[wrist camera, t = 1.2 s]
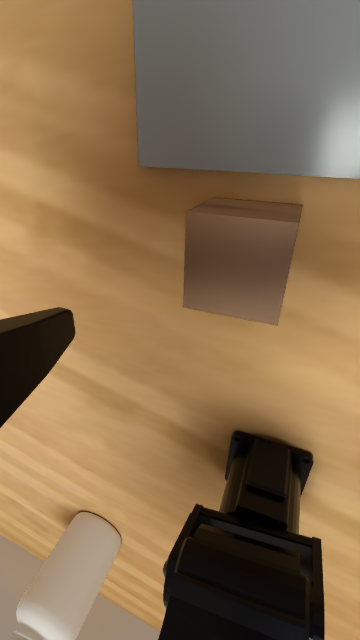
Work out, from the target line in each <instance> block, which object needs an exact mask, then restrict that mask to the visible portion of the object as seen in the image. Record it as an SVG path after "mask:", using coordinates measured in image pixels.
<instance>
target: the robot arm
mask: <svg viewBox="0 0 360 640" xmlns="http://www.w3.org/2000/svg"><path fill="white" fill-rule="evenodd" d="M74 336H75V326H74V319H73V313H72V311H71V310H69V309H65V308H61V307H57V308H53V309H48V310H43V311H39V312H34V313H29V314H25V315H20V316H15V317H11V318H6V319H1V320H0V428H1V427H2V426H3V424H4V423H5V422H6V421H7V420H8V419H9V418H10V416H11V415H12V414H13V413H14V412H15V411H16V410H17V409H18V407H19V406H20V405H21V404H22V403H23V402H24V401H25V400H26V398H27V397H28V396H29V395H30V394H31V393H32V392H33V391H34V389H35V388H36V387H37V386H38V385H39V384H40V383H41V381H42V380H43V379H44V378H45V377H46V376H47V374H48V373H49V372H50V371H51V369H52V368H53V367H54V365H55V364H56V362H57V361H58V360H59V358H60V357H61V355H62V354H63V353H64V351H65V350H66V349H67V347H68V346H69V344H70V343H71V342H72V340H73V339H74ZM237 437H238V438H237ZM312 465H313V456H312V455H311V454H310V453H307V452H304V451H301V450H297V449H294V448H291V447H288V446H284V445H281V444H278V443H274V442H271V441H268V440H265V439H261V438H258V437H255V436H252V435H248V434H245V433H242V432H238V431H235V432H233V434H232V438H231V444H230V450H229V456H228V463H227V469H226V475H225V479H226V481H227V483H226V487H225V491H224V495H223V499H222V503H221V506H220V510H219V512H218V511H215V510H211V509H208V508H204V507H203V506H202V505H199V504H196V505H195V507H194V509H193V511H192V513H190V515H189V517H188V519H187V521H186V523H185V525H184V527H183V529H182V531H181V533H180V535H179V537H178V539H177V541H176V543H175V545H174V547H173V549H172V551H171V553H170V555H169V558H168V559H167V561H166V562H165V564H164V568H163V573H164V576H165V583H164V593H163V601H164V606H165V607H166V613H165V617H164V621H163V625H162V629H161V632H160V635H159V639H158V640H324V590H323V570H322V550H321V539H319V538H315V537H312V538H310V537H306V536H303V535H299V513H300V497H301V494H302V492H303V489H304V486H305V484H306V481H307V478H308V476H309V473H310V470H311V467H312Z"/></svg>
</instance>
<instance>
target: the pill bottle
mask: <svg viewBox="0 0 360 640" xmlns="http://www.w3.org/2000/svg"><path fill="white" fill-rule="evenodd" d="M120 546H121V538H120V535H119V534H118V532H117V531H116V530H115V528H114V527H113V526H112V525H111V524H109V523H108V522H107V521H105V520H104V519H102V518H101V517H99V516H97V515H95V514H92V513H88V512H80V513H78V514H77V515H76V516H75V517H74V519H73V520H72V521H71V523H70V524H69V526H68V527H67V529H66V530H65V532H64V533H63V535H62V536H61V538H60V540H59V541H58V543H57V544H56V546H55V547H54V549H53V550H52V552H51V553H50V555H49V556H48V558H47V560H46V561H45V563H44V564H43V566H42V567H41V569H40V570H39V572H38V574H37V575H36V577H35V578H34V579H33V581H32V583H31V584H30V586H29V587H28V589H27V590H26V592H25V593H24V595H23V597H22V598H21V600H20V602H19V604H18V607H17V611H16V617H17V621H18V623H19V625H20V627H19V629H18V630H14V632H13V635H14V636H13V637H11V638H10V640H75V639H76V638H77V636H78V634H79V631H80V629H81V627H82V625H83V623H84V621H85V619H86V617H87V615H88V613H89V611H90V609H91V606H92V605H93V602H94V601H95V598H96V596H97V594H98V592H99V590H100V588H101V586H102V584H103V582H104V580H105V578H106V576H107V574H108V572H109V570H110V568H111V565H112V563H113V561H114V559H115V557H116V555H117V553H118V551H119V548H120Z"/></svg>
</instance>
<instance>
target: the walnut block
mask: <svg viewBox="0 0 360 640" xmlns="http://www.w3.org/2000/svg"><path fill="white" fill-rule="evenodd" d="M302 206H303V205H299V204H287V203H275V202H263V201H251V200H239V199H227V198H215V197H214V198H212V199H210V200H208V201H206V202H204V203H202V204H200V205H199V206H197V207H195V208H193V209H191V210H189V211H187V212H186V238H185V266H184V295H183V307H184V308H189V309H194V310H199V311H204V312H209V313H215V314H220V315H225V316H230V317H235V318H240V319H245V320H250V321H255V322H260V323H266V324H271V325H276V326H278V321H279V316H280V311H281V307H282V302H283V297H284V293H285V288H286V283H287V278H288V274H289V269H290V264H291V259H292V255H293V250H294V245H295V240H296V236H297V231H298V226H299V221H300V216H301V211H302Z"/></svg>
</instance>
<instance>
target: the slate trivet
mask: <svg viewBox="0 0 360 640" xmlns="http://www.w3.org/2000/svg"><path fill="white" fill-rule="evenodd" d="M133 21H134V49H135V77H136V105H137V133H138V161H139V166H144V167H161V168H179V169H196V170H214V171H231V172H248V173H266V174H283V175H301V176H318V177H336V178H353V179H360V0H133Z"/></svg>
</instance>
